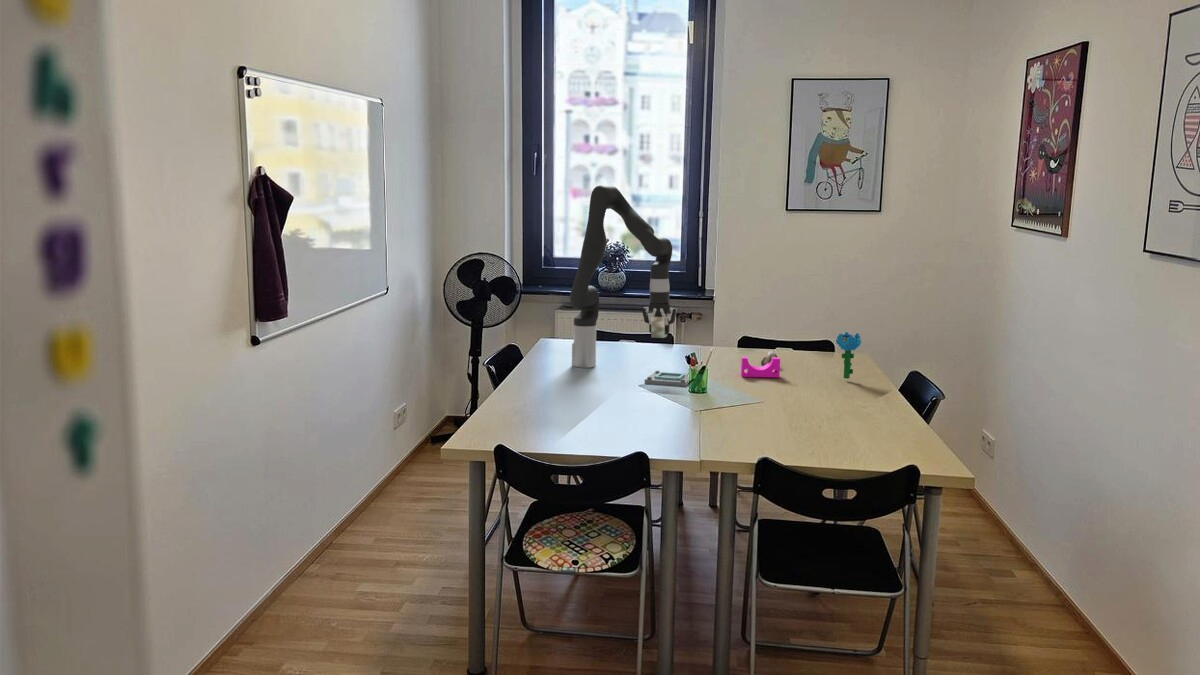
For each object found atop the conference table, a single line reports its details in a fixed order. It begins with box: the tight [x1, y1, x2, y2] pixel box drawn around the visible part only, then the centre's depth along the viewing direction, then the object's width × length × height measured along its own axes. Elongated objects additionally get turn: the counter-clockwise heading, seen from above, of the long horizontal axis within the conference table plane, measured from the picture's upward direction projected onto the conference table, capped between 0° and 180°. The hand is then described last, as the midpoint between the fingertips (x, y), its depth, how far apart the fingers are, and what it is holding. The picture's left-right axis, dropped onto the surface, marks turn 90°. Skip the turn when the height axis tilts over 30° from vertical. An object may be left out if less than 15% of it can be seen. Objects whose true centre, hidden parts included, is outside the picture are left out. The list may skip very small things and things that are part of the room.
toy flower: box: [835, 331, 862, 380], centre depth 359 cm, size 9×9×18 cm
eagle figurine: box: [760, 350, 778, 367], centre depth 382 cm, size 8×7×9 cm
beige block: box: [650, 316, 668, 339], centre depth 348 cm, size 5×5×8 cm
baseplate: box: [644, 370, 690, 387], centre depth 350 cm, size 16×16×2 cm
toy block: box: [740, 356, 781, 378], centre depth 364 cm, size 15×6×8 cm, turn 88°
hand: (659, 334), depth 348 cm, fingers closed on beige block, 5 cm apart
